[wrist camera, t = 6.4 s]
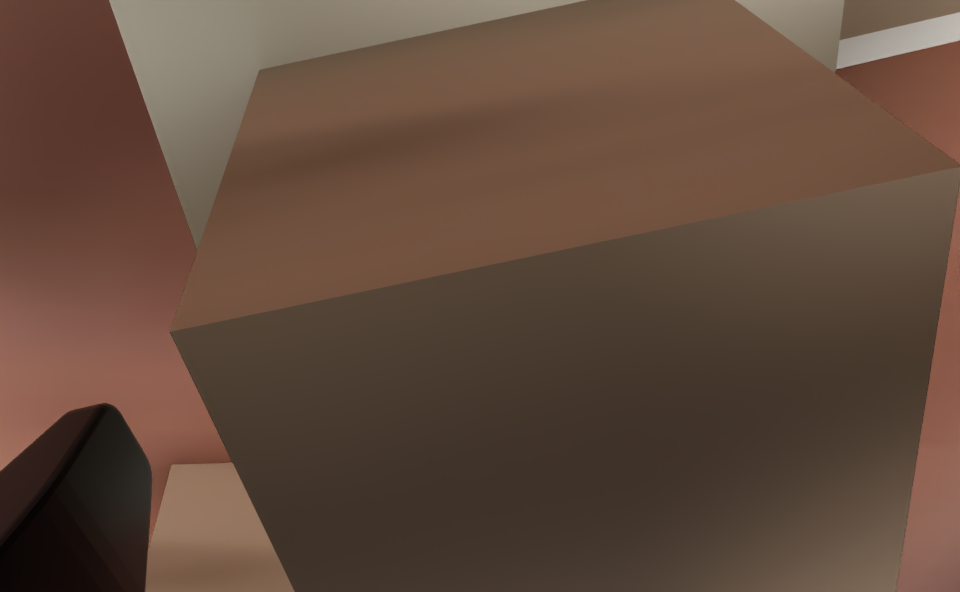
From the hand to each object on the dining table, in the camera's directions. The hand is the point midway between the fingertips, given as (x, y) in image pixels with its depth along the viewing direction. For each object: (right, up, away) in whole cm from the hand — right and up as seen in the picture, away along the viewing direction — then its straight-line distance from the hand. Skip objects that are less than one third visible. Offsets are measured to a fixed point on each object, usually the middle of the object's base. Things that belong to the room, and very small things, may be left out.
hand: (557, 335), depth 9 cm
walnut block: (0, +1, +2) cm, 3 cm away
